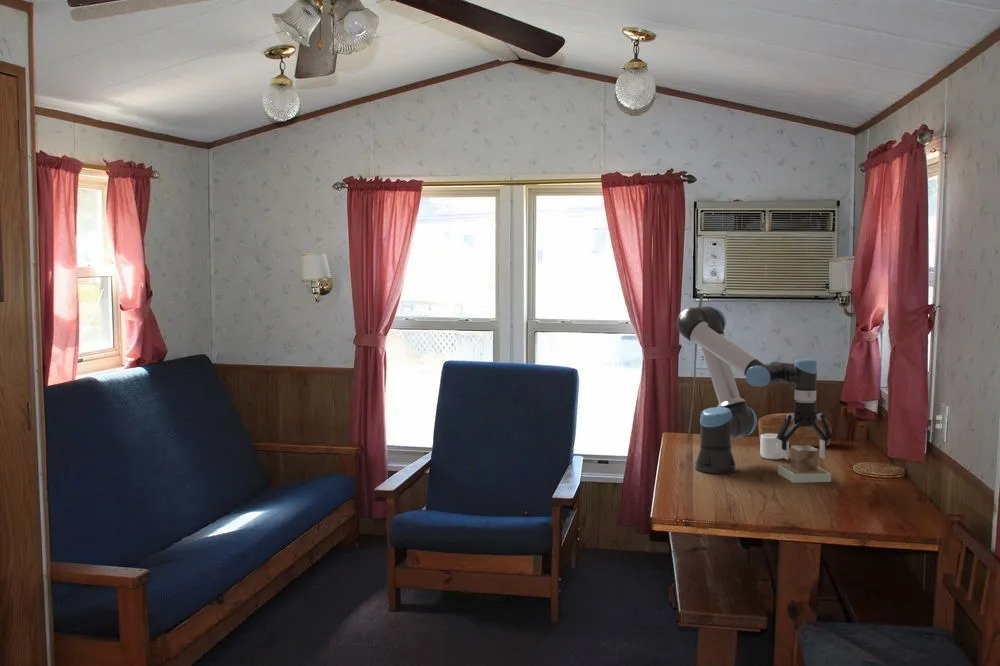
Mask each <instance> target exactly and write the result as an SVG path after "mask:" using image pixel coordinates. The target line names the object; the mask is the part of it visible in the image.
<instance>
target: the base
mask: <svg viewBox="0 0 1000 666" xmlns="http://www.w3.org/2000/svg"><path fill="white" fill-rule="evenodd" d="M777 474H778V475H779V476H781V477H783V478H784V479H786V480H788V481H790V482H791V483H793V484H797V483H798V484H801V483H803V484H805V483H830V482H832V473H831V472H830V471H829V472H828V471H827V470H825V469H823V468H820V467H819V466H817V471H797V470H796V469H794V468H792V467H791V464H789V465H788V464H787V465H786V464H785V465H777Z"/></svg>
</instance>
